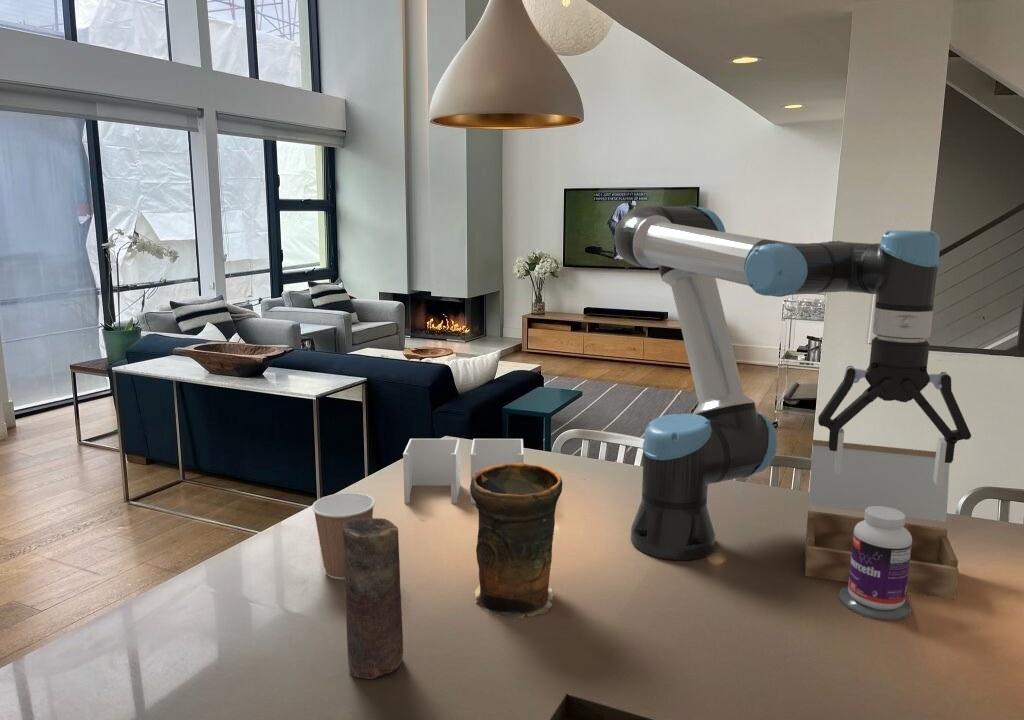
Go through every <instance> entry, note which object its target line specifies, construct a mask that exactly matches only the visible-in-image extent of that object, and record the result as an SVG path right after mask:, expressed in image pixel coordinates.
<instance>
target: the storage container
mask: <svg viewBox="0 0 1024 720" xmlns="http://www.w3.org/2000/svg"><path fill="white" fill-rule="evenodd" d="M460 444H461V443H460V438H409V440H408V443H407V445H406V446H405V450H404V451H403V453H402V457H403V458H402V459H403V460H402V463H403V465H402V467H403V498H404V499H403V500H404V502H403V503H404V504H411V496H410V495H411V491H412V489H413V487H414V486H415V487H416V486H418V487H419V486H424V487H425V486H431V487H432V486H435V487H436V486H437V487H438V486H439V487H440V486H441V487H442V486H444V487H445V486H450V501H451V504H457V502H458V498H459V494H460V488H461V452H460V451H461V447H460V446H461V445H460ZM471 444H472V445H471V450H470V482H471V481H472V478H473V476H474V475H475V473H476V472H477V471H479V470H482V469H484V468H488V467H490V466H497V465H502V464H516V463H524V439H523V438H473V439H472V443H471ZM470 503H471V504H476V503H475V500H474V499H473V498H472V496H471V495H470Z"/></svg>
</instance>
